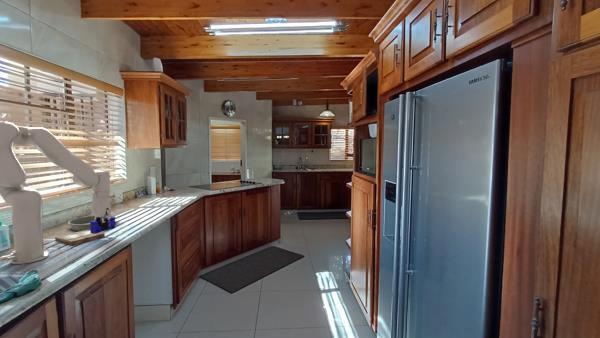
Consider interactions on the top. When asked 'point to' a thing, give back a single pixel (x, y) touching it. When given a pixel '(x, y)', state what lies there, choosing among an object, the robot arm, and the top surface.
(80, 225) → the cake pan
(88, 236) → the mounting board
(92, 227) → the blue curved stepped block
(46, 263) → the top surface
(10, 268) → the top surface
